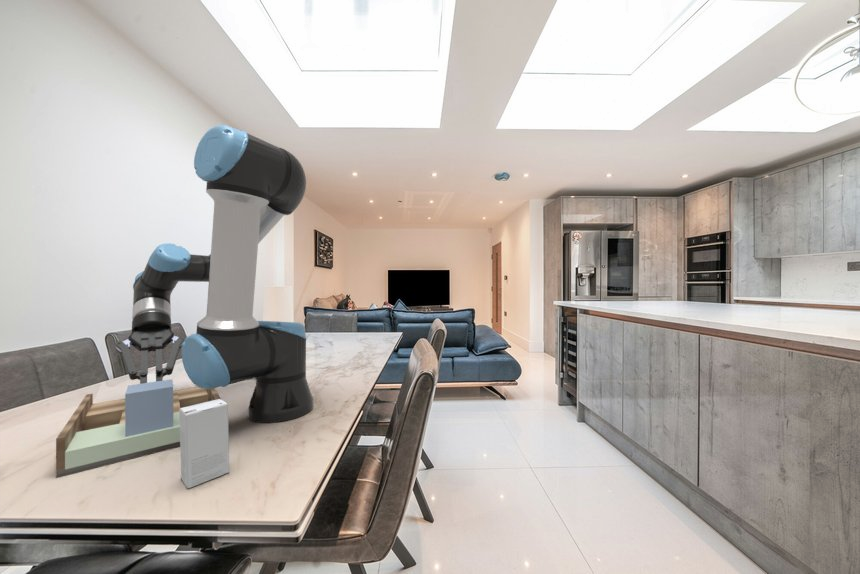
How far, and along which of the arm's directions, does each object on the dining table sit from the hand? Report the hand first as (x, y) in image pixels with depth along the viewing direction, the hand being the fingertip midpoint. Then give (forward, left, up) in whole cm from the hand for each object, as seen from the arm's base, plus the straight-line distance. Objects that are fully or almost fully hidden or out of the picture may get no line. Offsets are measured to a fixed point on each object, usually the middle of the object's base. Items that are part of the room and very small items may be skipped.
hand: (151, 402), depth 70 cm
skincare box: (-24, +14, -7) cm, 28 cm away
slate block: (-4, +4, -3) cm, 7 cm away
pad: (-4, +4, -7) cm, 9 cm away
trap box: (+3, -3, -7) cm, 8 cm away
